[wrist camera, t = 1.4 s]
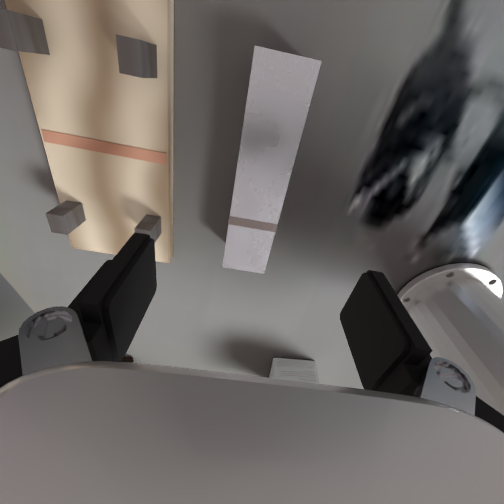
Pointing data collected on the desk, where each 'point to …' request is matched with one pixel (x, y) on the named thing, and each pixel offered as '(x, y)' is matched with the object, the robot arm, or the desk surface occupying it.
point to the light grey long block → (267, 153)
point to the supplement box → (294, 370)
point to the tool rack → (102, 113)
